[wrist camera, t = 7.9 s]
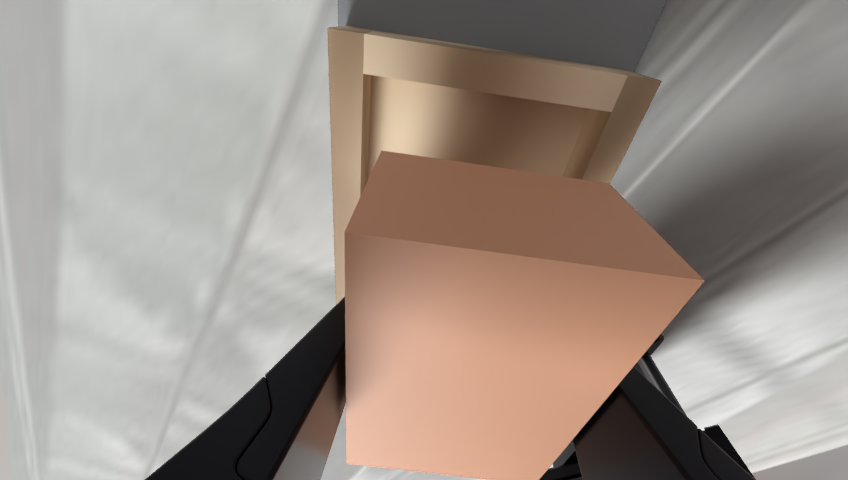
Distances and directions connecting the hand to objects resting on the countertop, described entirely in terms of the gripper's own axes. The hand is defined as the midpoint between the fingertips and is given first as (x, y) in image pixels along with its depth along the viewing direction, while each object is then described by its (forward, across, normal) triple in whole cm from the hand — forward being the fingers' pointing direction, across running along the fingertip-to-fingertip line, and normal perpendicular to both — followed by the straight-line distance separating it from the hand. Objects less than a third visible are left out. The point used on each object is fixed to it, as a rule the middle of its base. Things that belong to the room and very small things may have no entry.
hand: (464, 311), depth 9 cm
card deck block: (+1, 0, 0) cm, 1 cm away
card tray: (+6, 0, 0) cm, 6 cm away
